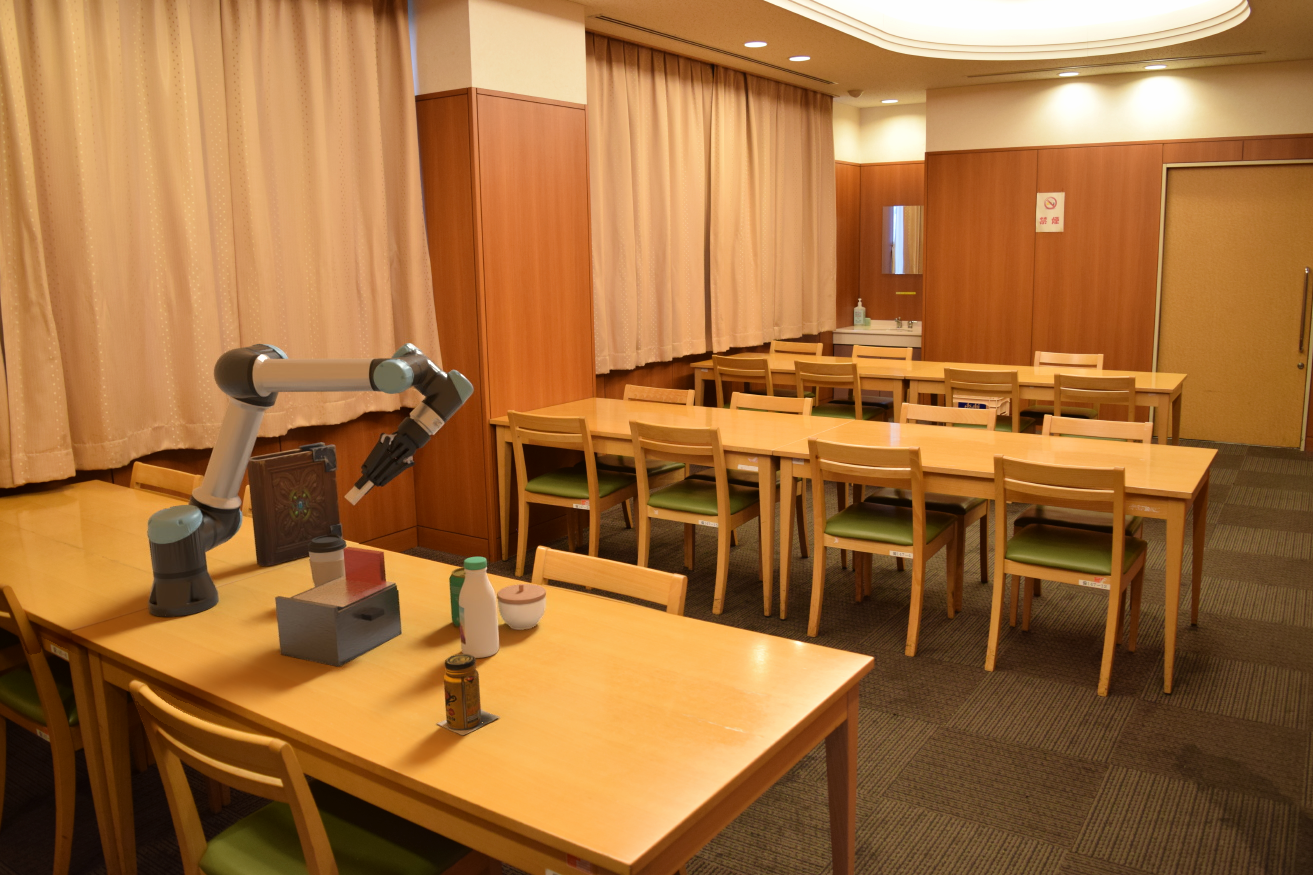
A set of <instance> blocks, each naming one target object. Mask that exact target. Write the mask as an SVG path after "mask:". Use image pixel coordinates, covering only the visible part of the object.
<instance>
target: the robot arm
mask: <svg viewBox="0 0 1313 875" xmlns="http://www.w3.org/2000/svg"><path fill="white" fill-rule="evenodd" d="M213 367H214V368H213V379H214V381H215V384H216V385H217V387H218V388H219V390H220V391H221V392H223V393H224V394H225V395H226V396H227V398H228V403H227V406H226V408H225V411H224V415H223V417H222V421H221V424H220V427H219V430H218V433H217V437H216V440H215V443H214V446H213V448H212V452H211V455H210V457H209V461H208V463H207V464H208V465H207V466H206V471H205V474H204V477H203V479H202V483H201V485H199V486H198V487H195V488H194V489H193V490H192V491H191V492H192V493H191V495H190V497H189V501H188V504H179V505H172V506H170V507H168V508H163V509H160V510H158V511H156V512H154V513H153V514H152V515H151V516H150V517H149V518H148V519H147V533H146V535H147V538H148V546H149V551H150V560H151V561H150V562H151V567H152V576H153V581H152V585H151V589H150V594H149V597H148V602H147V603H148V605H147V606H148V611H149V614H150V615H153V616H155V617H156V616H157V617H163V618H165V617H167V618H169V617H170V618H171V617H181V616H182V617H183V616H188V615H193V614H197V613H201V612H203V611H206V610H208V609H211V608H213V607H214V606H215V605H217V604H218V603H219V601H220V598H219V591H218V589H217V586H216V585H215V583H214V581H213V579H212V576H211V575H210V573H209V570H208V564H207V563H208V562H207V552H209V551H211V550H213V549H214V548H217V547H219V546H221V545H222V544H225V543H227V542H228V541H230V540H231V539H232V538H234V536H235V535H236V534H237V533H238V532H239V530H240V529H241V527H242V523H243V512H242V511H241V505H242V500H241V497H240V496H239V495H238V494H239V491H240V489H241V485H242V482H243V479H244V476H245V473H246V470H247V469H248V468H247V465H248V462H249V459H250V457H252V452H253V449H254V446H255V444H256V441H257V437H258V434H259V431H260V428H261V425H262V423H263V419H264V416H265V412H266V411H267V410H269V409H271V408H273V407H274V406H275V404H276V402H277V399H278V395H279V393H305V392H306V393H313V392H317V393H321V392H322V393H325V392H326V393H328V392H330V393H331V392H333V393H337V392H339V393H340V392H354V393H355V392H378V393H379V392H382V393H385V394H387V395H394V394H401V393H403V392H405V391H407V390H409V389H412V388H414V389H415V390H416V391H418V392H419V394H421V395H422V396H423V397H424V398H423V399H422V400H421V401H420V402H419V404H417V405H416V407H415V408H414V409H412V411H411V412H409V416H406V417H405V418H404V419H403V420H402V421H401V422H400V423H399V424H398V426H397V429H396V430H395V431H394V432H392V433H391V434H387V433H385V432H380V435H379V438H378V441H377V442H376V444H375V446H374V447H373V448H372V450H370V453H369V454H368V456H367V457H366V459H365V460H364V462H363V463H362V465H361V466H360V470H361V472H360V473H361V474H362V476H360V477H359V479H358V480H356V482H355V483H354V484H353V485H354V486H353V487H352V488H351V489H350V490H349V491H348V492H347V493H346V494H345V495H344V499H346V500H347V501H348V502H349V503H350V504H351V505H353V506H355V505H356V504H357V503H358V502H359V501H360V500H361V499H362V498H363V497H364V496H367V494H368V493H370V491H371V490H372V489H373V488H374V487H375V486H376V487H377V488H379V487H385V486H386V485H387V484H389V483H390V482H391V481H393V480H395V478H396V477H398V476H399V475H400V474H402V473H403V472H404V471H406V470H407V469H408V468H412V467H414V466H415V465H416V462H415V461H414V460H413V456H414V455H416V451H417V450H418V449H422V448H423V447H425V445H426V444H427V443H428V442H429V441H431V439H432V438H431V435H432V436H435V434H436V433H437V432H438V431H439V430H440V429H441V428H442V427H443V426H444V425H445V424H446V423H447V422H448V421H449V420H450V418H452V416H454V415H455V413H457V411H458V410H460V409H461V407H462V406H464V405H465V403H466V401H467V400H468V399H469V398H470V397H471V396H472V395H473V393H474V385H473V384H472V383H471V381H469V379H468V378H466V376H465V375H463V374H462V373H460V371H458V370H456V369H452V370H450V371H448V372H446V371H444V370H443V369H442V368H440V366H438V365H437V364H436V363H435V362H434V361H432V359H430V358H429V357H428V356H427V354H425V353H424V352H423V351H422V350H421V349H420V348H418V347H417V346H415V345H414V344H413V343H410V342H407V343H405V344H403V345H401V346H400V347H399V348H397V350H396V351H395V352H394V353H393V355H392V356H391V357H387V358H385V357H384V358H383V357H382V358H381V357H379V358H378V357H377V358H370V357H369V358H289V357H288V355H287V354H286V352H285V351H284V350H282V349H281V348H279V347H277V346H276V345H273V344H270V343H269V344H268V343H255V344H252V345H250V346H245V347H244V346H243V347H237V348H232V349H230V350H227V351H225V352H224V353H222V354H221V355H220V357H218V358H217V360H216V361H215V365H214V366H213Z"/></svg>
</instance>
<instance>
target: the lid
mask: <svg viewBox="0 0 1313 875" xmlns="http://www.w3.org/2000/svg"><path fill="white" fill-rule="evenodd" d="M343 552H344V564H345V576H343V577H340V578H338V579H336V580H333V581H331V582H328V583H326V584H324V585H321V586H319V587H317V588H314V587H313V588H314V589H312V590H309V589H308V590H309V591H307V590H306V591H307V592H305V593H302V592H301V593H302V594H300V593H299V594H300V595H298V596H295V595H294V596H295V597H293V599H299V600H305V601H310V602H316V603H322V604H327V605H333V606H338V611H340V610H342V609H344V608H346V607H349V606H351V605H353V604H355V603H357V602H359V601H362V600H364V599H366V598H368V597H370V596H372V595H375V594H377V593H379V592H381V591H383V590H385V589H388V588H390V587H392V586H394V585H397V584H396V582H393V581H387V578H386V577H387V576H386V575H387V574H386V563H385V551H381V550H375V549H374V550H373V549H367V548H361V547H352V546H346V548H344V549H343Z"/></svg>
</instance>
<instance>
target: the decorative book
mask: <svg viewBox="0 0 1313 875" xmlns="http://www.w3.org/2000/svg"><path fill="white" fill-rule="evenodd" d="M336 449H337V448H336V445H335V444H329V445H328V444H327V445H326V443H325V442H316V443H312V444H311V443H310V444H305V445H299V447H298V448H294V449H290V450H284V451H278V452H274V453H273V452H272V453H267V454H262V455H256V456H250V459H249V462H248V465H247V468H246V469H247V475H248V476H247V477H248V487H249V499H250V505H251V506H250V508H251V517H252V527H253V537H254V546H255V555H256V556H255V557H256V564H257V565H259V566H260V567H261V566H262V567H263V566H264V567H266V566H267V567H269V566H274V565H278V564H281V563H286V562H289V561H293V560H297V559H300V558H304V557H309V551H308V550H307V549H308V544H309V543H311V541H312V539H314V538H316V537H320V536H326V535H328V534H337V535H338V536H340V537H341V539H343V540H344V536H343V524H342V523H341V521H340V508H339V507H340V506H339V496H338V495H339V494H338V484H337V483H338V482H337V472H336V471H338V463H337V452H336V451H337V450H336Z"/></svg>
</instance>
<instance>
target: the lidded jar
mask: <svg viewBox="0 0 1313 875" xmlns="http://www.w3.org/2000/svg"><path fill="white" fill-rule="evenodd" d="M546 594H547V590H546V588H545V587H544V586H542V585H538V584H534V583H533V584H532V583H519V584H517V583H516V584H512V585H508V586H505V587H503V588H500V589H499V590H498V591H497V594H496V600H497V605H498V606H497V608H498V611H499V614H500V617H501V618H502V621H504V623H505V624H507V625H508V627H509V626H510V627H511V629H512V630H517V631H522V630H523V631H524V629H526V630H531V629H533V628H535V627H536V626H537V625H538V623H539V622H540V621H541V619H542V618H543V616H544V614H545V610H546V604H547V601H546V597H547V595H546ZM536 624H537V625H536ZM534 626H535V627H534ZM510 627H509V628H510ZM532 627H533V628H532Z"/></svg>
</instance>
